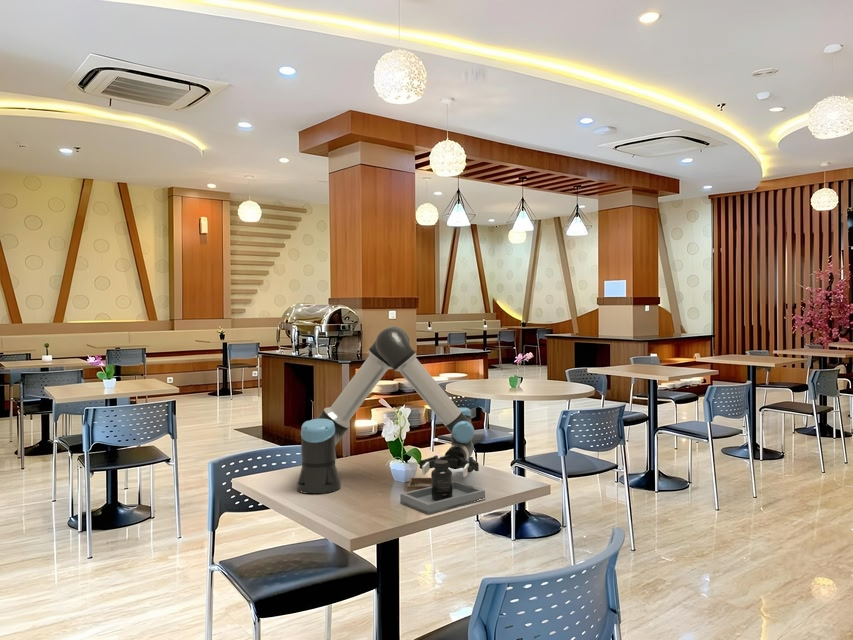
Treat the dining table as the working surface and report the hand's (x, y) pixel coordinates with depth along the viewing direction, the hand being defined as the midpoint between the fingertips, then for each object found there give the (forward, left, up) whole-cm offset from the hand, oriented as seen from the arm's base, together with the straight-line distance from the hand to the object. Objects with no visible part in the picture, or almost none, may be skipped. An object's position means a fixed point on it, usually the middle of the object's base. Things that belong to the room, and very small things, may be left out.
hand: (443, 471), depth 200 cm
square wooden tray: (-15, -7, -9) cm, 20 cm away
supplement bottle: (0, -1, -9) cm, 9 cm away
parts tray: (+1, 0, -9) cm, 9 cm away
